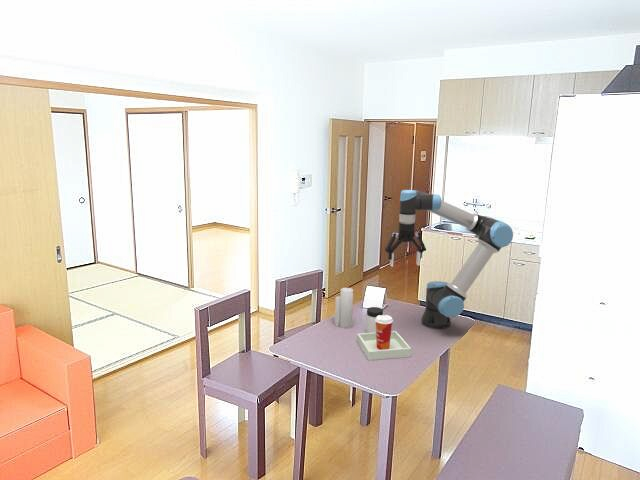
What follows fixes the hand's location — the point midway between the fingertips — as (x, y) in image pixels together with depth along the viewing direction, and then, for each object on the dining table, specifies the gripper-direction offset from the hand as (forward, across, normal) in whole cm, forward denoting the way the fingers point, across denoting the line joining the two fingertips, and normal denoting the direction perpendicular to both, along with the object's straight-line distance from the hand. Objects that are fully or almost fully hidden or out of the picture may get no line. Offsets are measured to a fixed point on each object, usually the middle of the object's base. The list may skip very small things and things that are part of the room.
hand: (404, 265), depth 230 cm
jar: (+37, +12, -7) cm, 39 cm away
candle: (+37, +26, -19) cm, 49 cm away
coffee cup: (+36, +14, +13) cm, 41 cm away
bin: (+37, +14, +13) cm, 41 cm away
